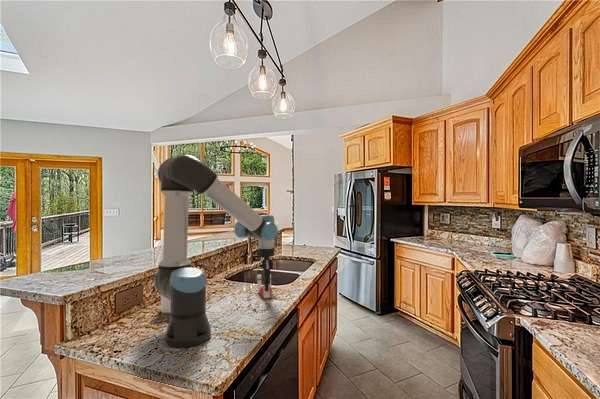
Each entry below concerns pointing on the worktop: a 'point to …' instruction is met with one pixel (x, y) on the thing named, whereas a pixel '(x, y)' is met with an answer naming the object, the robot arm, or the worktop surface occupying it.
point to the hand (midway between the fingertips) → (266, 297)
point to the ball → (263, 291)
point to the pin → (258, 283)
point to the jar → (165, 305)
